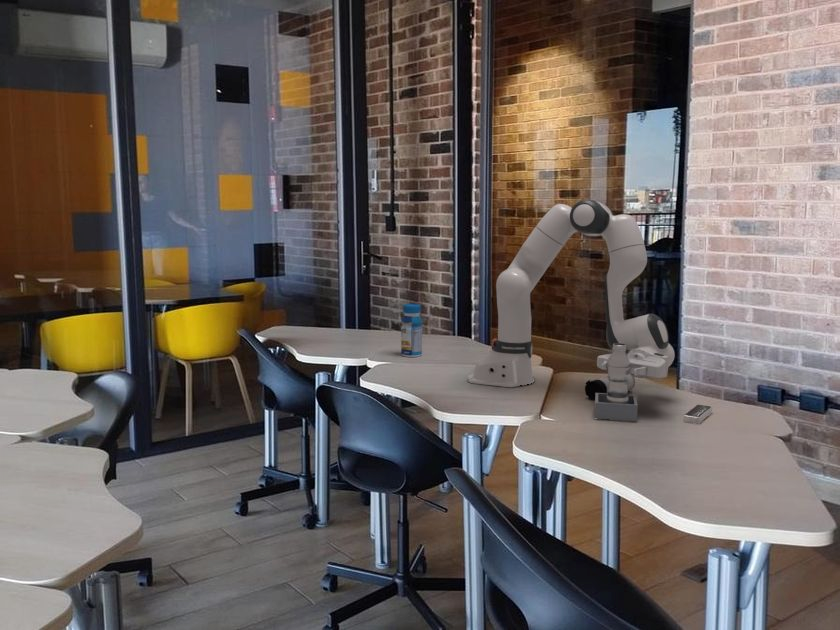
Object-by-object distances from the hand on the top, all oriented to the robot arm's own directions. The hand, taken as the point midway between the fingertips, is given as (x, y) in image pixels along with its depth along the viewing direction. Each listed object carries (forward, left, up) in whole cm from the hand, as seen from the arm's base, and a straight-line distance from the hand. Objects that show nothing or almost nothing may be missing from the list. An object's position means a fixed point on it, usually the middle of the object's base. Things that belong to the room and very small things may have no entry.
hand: (618, 369), depth 230 cm
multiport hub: (+23, +3, -14) cm, 27 cm away
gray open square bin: (0, 0, -13) cm, 13 cm away
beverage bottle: (-76, +67, -14) cm, 102 cm away
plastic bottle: (0, 0, -13) cm, 13 cm away
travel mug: (+4, +31, -10) cm, 33 cm away
